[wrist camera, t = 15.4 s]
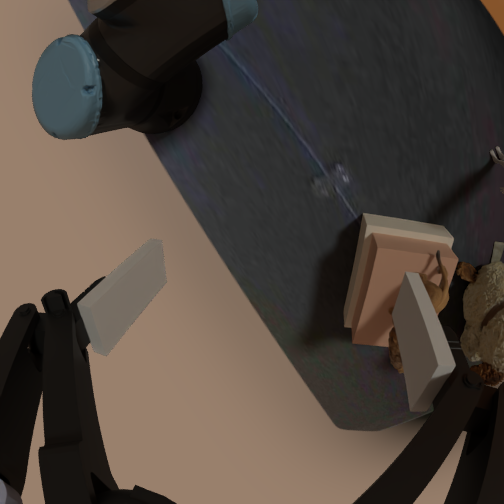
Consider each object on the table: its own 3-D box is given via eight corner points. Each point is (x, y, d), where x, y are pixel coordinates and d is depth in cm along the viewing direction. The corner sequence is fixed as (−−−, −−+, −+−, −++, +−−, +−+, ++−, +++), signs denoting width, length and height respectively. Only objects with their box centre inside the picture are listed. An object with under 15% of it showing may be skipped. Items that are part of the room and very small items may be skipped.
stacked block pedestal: (343, 309, 53) (344, 347, 44) (362, 213, 45) (371, 239, 36) (414, 316, 50) (425, 353, 42) (443, 226, 42) (466, 253, 33)
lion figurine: (405, 337, 41) (415, 381, 33) (375, 329, 42) (381, 374, 34) (451, 253, 34) (477, 290, 26) (419, 241, 35) (441, 277, 27)
